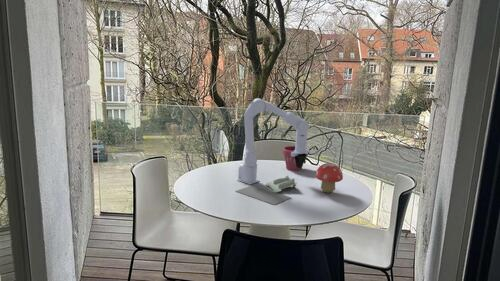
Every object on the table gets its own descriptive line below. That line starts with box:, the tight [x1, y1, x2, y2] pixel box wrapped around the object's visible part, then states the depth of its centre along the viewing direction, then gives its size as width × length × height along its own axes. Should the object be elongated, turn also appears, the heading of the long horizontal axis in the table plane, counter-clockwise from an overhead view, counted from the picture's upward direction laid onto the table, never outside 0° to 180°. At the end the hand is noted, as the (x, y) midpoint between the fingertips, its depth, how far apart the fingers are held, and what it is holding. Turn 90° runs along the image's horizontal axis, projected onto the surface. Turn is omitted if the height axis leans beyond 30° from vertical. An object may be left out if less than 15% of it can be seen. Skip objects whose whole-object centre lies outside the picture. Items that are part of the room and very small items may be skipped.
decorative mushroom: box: [315, 162, 344, 194], centre depth 185 cm, size 13×13×15 cm
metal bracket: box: [265, 175, 298, 193], centre depth 190 cm, size 14×6×15 cm
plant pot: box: [282, 145, 308, 172], centre depth 225 cm, size 14×14×13 cm
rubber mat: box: [235, 184, 292, 206], centre depth 180 cm, size 24×13×1 cm, turn 49°
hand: (299, 167), depth 199 cm, fingers closed
